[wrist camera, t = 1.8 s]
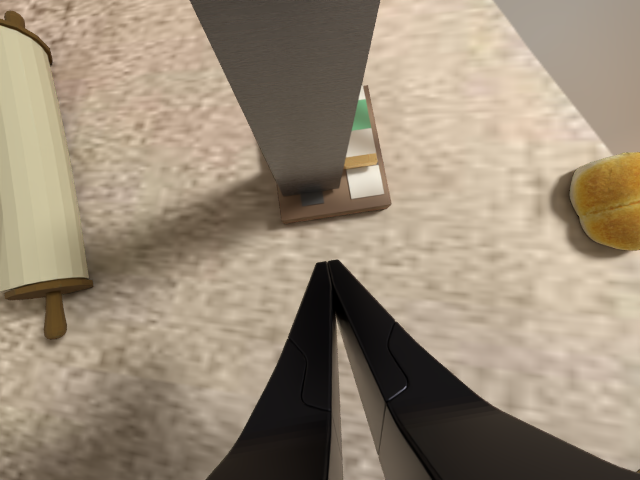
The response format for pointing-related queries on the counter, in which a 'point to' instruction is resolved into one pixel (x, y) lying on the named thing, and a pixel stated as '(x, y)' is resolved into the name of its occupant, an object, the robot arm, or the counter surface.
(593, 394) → the counter surface
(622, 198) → the bread roll
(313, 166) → the grey square pillar
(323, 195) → the board
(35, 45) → the rolling pin
